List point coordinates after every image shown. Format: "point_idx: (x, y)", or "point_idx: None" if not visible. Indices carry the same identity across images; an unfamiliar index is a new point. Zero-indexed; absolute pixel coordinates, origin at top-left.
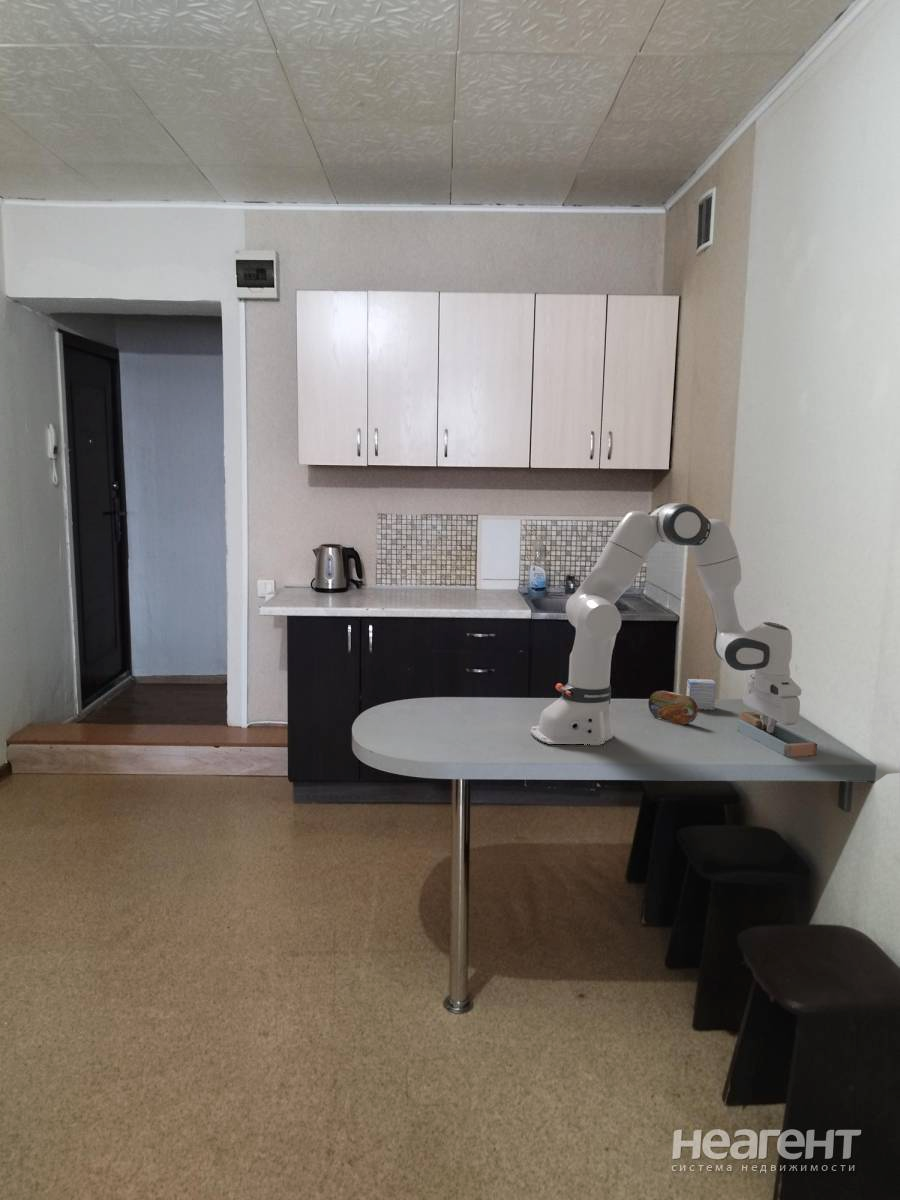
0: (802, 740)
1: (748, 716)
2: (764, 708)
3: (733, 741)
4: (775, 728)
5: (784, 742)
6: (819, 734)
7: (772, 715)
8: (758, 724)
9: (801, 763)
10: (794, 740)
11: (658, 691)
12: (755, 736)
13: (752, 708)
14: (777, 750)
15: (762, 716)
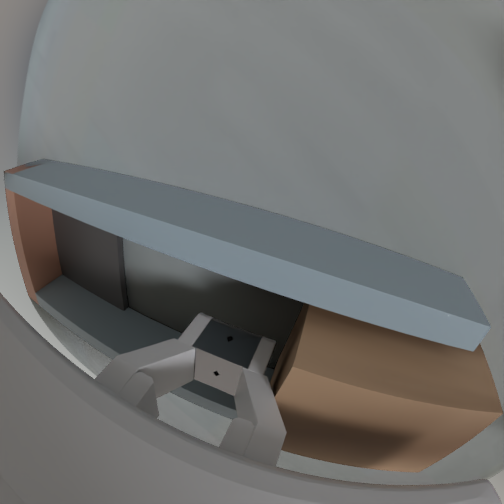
0: (65, 308)
1: (422, 402)
2: (108, 476)
3: (297, 27)
4: None
5: (21, 192)
6: (218, 444)
7: (21, 357)
8: (291, 353)
9: (18, 164)
10: (114, 322)
11: None
12: (245, 215)
13: (385, 491)
14: (72, 166)
15: (236, 425)
